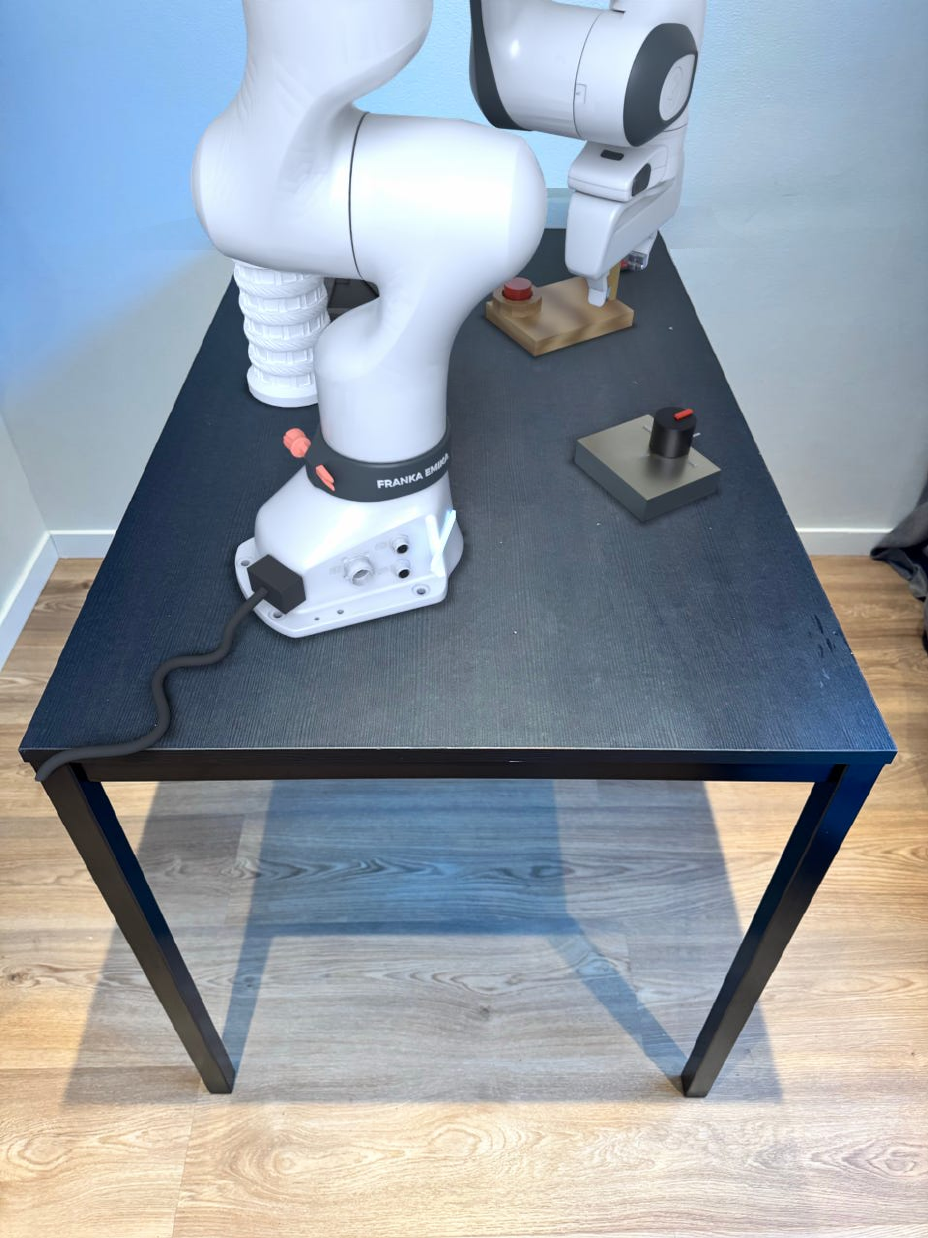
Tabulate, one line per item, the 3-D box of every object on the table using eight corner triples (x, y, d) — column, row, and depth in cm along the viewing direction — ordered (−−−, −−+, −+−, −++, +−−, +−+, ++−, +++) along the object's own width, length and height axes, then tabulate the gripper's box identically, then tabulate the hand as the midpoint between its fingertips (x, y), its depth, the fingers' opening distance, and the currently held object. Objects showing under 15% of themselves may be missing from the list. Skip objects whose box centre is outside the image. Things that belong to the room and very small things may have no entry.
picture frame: (432, 326, 118) (439, 259, 132) (432, 312, 116) (439, 246, 131) (313, 323, 118) (333, 257, 132) (311, 309, 116) (332, 244, 131)
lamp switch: (513, 304, 115) (513, 292, 114) (498, 293, 117) (498, 280, 116) (535, 298, 117) (536, 285, 115) (520, 287, 119) (521, 274, 117)
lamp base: (533, 357, 113) (535, 328, 110) (482, 316, 120) (483, 288, 117) (632, 325, 119) (636, 297, 116) (578, 289, 126) (581, 262, 123)
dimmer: (642, 522, 91) (647, 498, 88) (574, 462, 98) (577, 438, 95) (731, 485, 95) (738, 461, 93) (659, 430, 102) (664, 406, 100)
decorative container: (331, 410, 104) (313, 261, 91) (236, 403, 105) (205, 255, 92) (351, 360, 112) (338, 216, 99) (263, 353, 113) (238, 210, 100)
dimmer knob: (668, 462, 93) (674, 432, 90) (640, 442, 95) (646, 412, 93) (698, 449, 94) (706, 419, 92) (670, 429, 97) (677, 399, 94)
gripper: (652, 112, 93) (633, 243, 103) (558, 175, 81) (547, 315, 91) (708, 124, 90) (683, 256, 100) (620, 190, 79) (601, 332, 89)
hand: (617, 285), depth 96 cm, fingers open, 8 cm apart
